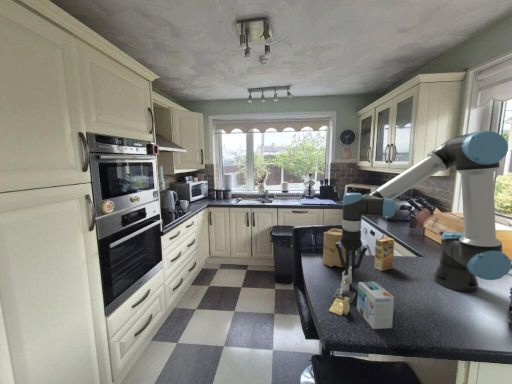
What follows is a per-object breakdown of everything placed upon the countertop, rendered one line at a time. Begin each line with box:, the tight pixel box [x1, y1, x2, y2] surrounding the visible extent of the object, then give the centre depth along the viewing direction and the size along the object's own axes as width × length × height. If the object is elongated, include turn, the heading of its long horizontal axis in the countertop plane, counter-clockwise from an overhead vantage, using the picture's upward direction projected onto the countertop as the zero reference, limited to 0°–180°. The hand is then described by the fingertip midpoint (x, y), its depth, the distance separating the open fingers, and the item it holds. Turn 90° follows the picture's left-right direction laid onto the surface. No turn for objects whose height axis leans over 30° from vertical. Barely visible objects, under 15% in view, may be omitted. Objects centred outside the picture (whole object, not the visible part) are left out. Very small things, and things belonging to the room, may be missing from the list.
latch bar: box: [340, 269, 350, 295], centre depth 97 cm, size 15×3×5 cm, turn 159°
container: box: [322, 228, 346, 268], centre depth 122 cm, size 13×13×18 cm
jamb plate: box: [332, 287, 357, 304], centre depth 92 cm, size 7×7×1 cm
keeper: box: [328, 297, 351, 317], centre depth 85 cm, size 6×10×5 cm, turn 145°
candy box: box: [374, 237, 395, 272], centre depth 118 cm, size 9×4×15 cm, turn 113°
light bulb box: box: [356, 280, 395, 330], centre depth 78 cm, size 11×7×11 cm, turn 5°
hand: (349, 282), depth 100 cm, fingers closed
